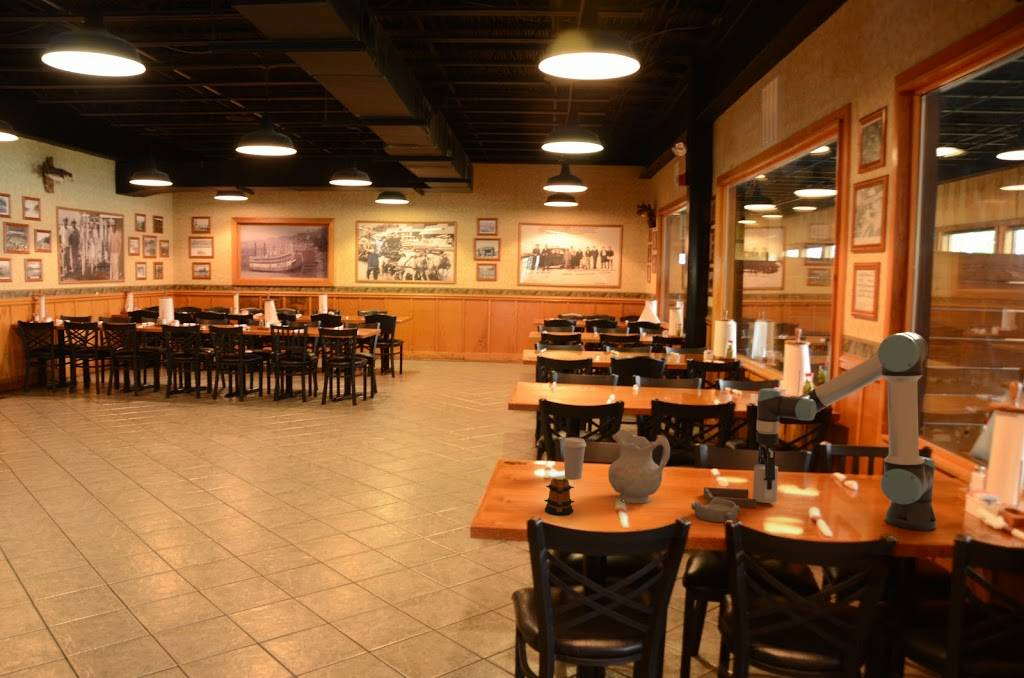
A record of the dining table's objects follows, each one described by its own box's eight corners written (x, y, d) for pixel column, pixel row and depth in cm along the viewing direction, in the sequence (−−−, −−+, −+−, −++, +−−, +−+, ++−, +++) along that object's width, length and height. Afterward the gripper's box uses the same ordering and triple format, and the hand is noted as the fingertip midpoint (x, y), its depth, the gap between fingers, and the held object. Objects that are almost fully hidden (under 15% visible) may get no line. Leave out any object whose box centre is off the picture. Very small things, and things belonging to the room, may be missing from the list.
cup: (773, 496, 283) (775, 464, 282) (779, 503, 275) (780, 469, 274) (750, 495, 284) (752, 463, 283) (755, 502, 276) (756, 468, 275)
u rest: (756, 508, 273) (756, 500, 273) (709, 506, 275) (710, 497, 274) (747, 497, 287) (747, 489, 286) (703, 495, 288) (703, 487, 288)
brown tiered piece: (543, 506, 269) (545, 473, 268) (573, 507, 268) (574, 474, 267) (543, 518, 256) (544, 484, 255) (574, 519, 255) (576, 485, 254)
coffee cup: (556, 475, 310) (558, 437, 308) (577, 472, 314) (579, 436, 312) (568, 481, 301) (569, 443, 300) (589, 479, 305) (591, 441, 304)
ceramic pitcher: (670, 498, 286) (673, 431, 285) (666, 510, 267) (669, 437, 267) (611, 492, 292) (614, 426, 291) (603, 503, 273) (606, 432, 272)
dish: (686, 516, 263) (687, 502, 262) (708, 508, 272) (709, 494, 272) (724, 527, 252) (725, 512, 252) (746, 518, 262) (747, 504, 262)
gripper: (786, 438, 267) (783, 503, 268) (770, 426, 287) (768, 487, 289) (764, 437, 267) (761, 502, 269) (749, 426, 288) (747, 486, 290)
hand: (764, 494), depth 279 cm, fingers closed on cup, 8 cm apart
